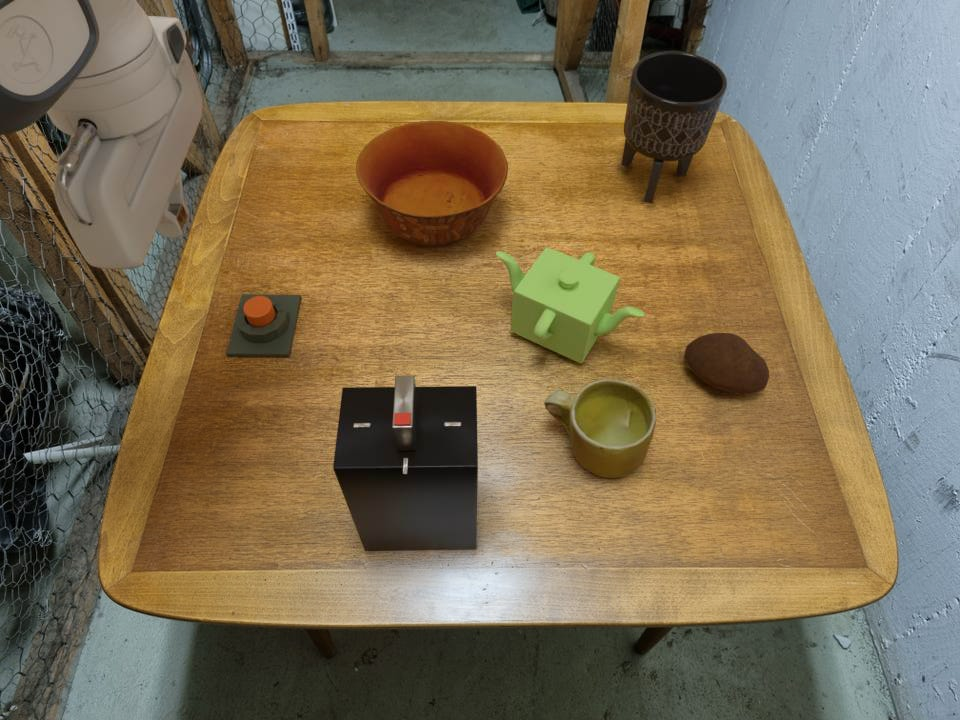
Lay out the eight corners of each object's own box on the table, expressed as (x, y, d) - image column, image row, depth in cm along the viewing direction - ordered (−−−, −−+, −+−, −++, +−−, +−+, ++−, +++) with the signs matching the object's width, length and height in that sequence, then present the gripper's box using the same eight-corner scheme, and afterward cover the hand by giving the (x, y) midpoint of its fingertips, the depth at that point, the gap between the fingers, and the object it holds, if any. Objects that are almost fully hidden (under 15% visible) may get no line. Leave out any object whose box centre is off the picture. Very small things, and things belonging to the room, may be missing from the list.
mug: (677, 425, 79) (668, 392, 71) (634, 500, 77) (620, 476, 68) (587, 383, 85) (570, 348, 77) (545, 452, 83) (523, 424, 75)
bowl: (422, 154, 110) (418, 100, 102) (532, 206, 103) (537, 152, 95) (336, 227, 100) (324, 173, 92) (450, 290, 93) (448, 238, 85)
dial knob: (399, 400, 59) (395, 373, 56) (417, 400, 59) (414, 373, 56) (396, 451, 56) (391, 426, 53) (415, 450, 57) (412, 425, 53)
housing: (289, 357, 86) (285, 345, 84) (227, 356, 86) (221, 345, 84) (301, 298, 92) (298, 285, 90) (243, 297, 92) (238, 285, 90)
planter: (671, 147, 112) (701, 44, 97) (707, 198, 105) (744, 96, 90) (599, 160, 110) (618, 57, 95) (630, 213, 102) (655, 111, 88)
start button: (273, 327, 87) (269, 317, 85) (245, 327, 87) (240, 317, 85) (278, 305, 89) (274, 295, 87) (250, 305, 89) (246, 295, 87)
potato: (755, 415, 82) (776, 383, 76) (671, 384, 85) (686, 352, 79) (766, 371, 86) (787, 339, 80) (686, 344, 88) (700, 310, 83)
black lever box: (364, 557, 72) (331, 474, 55) (370, 477, 77) (342, 380, 60) (476, 555, 72) (478, 472, 55) (475, 476, 77) (476, 379, 61)
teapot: (492, 299, 92) (495, 244, 84) (582, 277, 95) (593, 220, 86) (533, 388, 84) (540, 337, 75) (630, 361, 87) (648, 308, 78)
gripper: (101, 179, 42) (181, 319, 53) (186, 8, 53) (236, 152, 65) (-1, 178, 42) (101, 318, 53) (106, 7, 53) (171, 152, 65)
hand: (176, 226), depth 59 cm, fingers closed
